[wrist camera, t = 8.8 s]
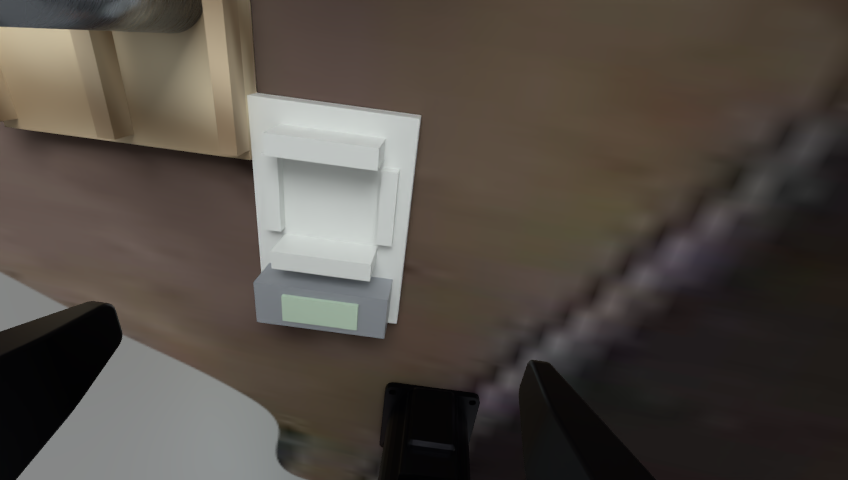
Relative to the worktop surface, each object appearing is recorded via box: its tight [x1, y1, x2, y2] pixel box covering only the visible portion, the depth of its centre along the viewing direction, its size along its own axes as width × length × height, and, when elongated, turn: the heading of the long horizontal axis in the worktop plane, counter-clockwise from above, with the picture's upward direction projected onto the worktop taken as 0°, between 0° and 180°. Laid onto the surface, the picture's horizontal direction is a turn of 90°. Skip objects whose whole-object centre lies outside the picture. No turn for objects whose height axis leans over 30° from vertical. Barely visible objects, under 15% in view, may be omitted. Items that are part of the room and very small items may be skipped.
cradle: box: [247, 93, 421, 339], centre depth 20 cm, size 12×8×3 cm, turn 173°
